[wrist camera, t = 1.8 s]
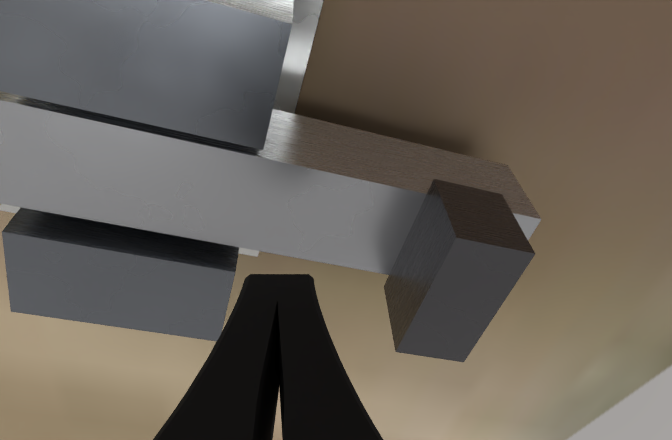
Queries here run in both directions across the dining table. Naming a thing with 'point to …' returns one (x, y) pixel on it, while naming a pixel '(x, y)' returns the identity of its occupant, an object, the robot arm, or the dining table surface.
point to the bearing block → (154, 109)
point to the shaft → (293, 204)
